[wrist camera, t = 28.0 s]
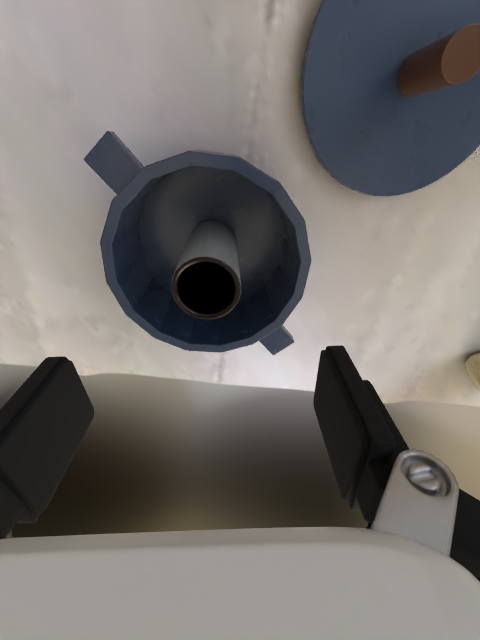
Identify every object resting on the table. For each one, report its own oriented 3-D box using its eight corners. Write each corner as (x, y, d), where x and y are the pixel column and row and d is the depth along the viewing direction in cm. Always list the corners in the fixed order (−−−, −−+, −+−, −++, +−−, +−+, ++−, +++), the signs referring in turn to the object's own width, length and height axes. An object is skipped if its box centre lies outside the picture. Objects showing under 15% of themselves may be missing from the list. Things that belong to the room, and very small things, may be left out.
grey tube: (201, 273, 28) (190, 328, 20) (180, 230, 26) (157, 272, 17) (243, 257, 28) (250, 307, 19) (226, 212, 25) (225, 245, 17)
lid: (357, 231, 27) (388, 251, 22) (256, 55, 20) (267, 22, 15) (541, 99, 22) (639, 83, 17) (491, -194, 15) (630, -373, 10)
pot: (222, 347, 34) (221, 393, 28) (73, 208, 25) (20, 228, 19) (332, 272, 29) (361, 306, 23) (196, 69, 21) (182, 34, 14)
